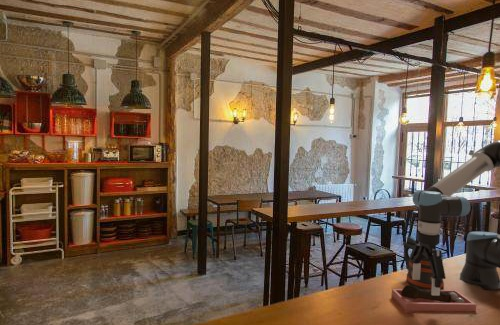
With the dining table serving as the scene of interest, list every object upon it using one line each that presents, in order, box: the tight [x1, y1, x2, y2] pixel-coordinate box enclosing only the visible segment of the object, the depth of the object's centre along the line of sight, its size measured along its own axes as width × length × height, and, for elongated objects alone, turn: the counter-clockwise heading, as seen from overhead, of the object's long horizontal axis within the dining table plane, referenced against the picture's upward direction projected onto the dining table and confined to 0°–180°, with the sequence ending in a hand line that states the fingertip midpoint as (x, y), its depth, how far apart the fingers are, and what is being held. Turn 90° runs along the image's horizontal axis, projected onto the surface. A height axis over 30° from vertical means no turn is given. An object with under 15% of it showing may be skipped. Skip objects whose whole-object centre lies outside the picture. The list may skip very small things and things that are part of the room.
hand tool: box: [401, 284, 451, 303], centre depth 129 cm, size 19×4×5 cm, turn 92°
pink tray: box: [391, 288, 477, 314], centre depth 129 cm, size 26×12×4 cm, turn 91°
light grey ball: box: [449, 292, 458, 301], centre depth 131 cm, size 3×3×3 cm
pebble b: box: [455, 298, 465, 303], centre depth 127 cm, size 3×3×3 cm
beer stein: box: [402, 236, 445, 290], centre depth 145 cm, size 19×15×20 cm
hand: (425, 286), depth 129 cm, fingers open, 13 cm apart
